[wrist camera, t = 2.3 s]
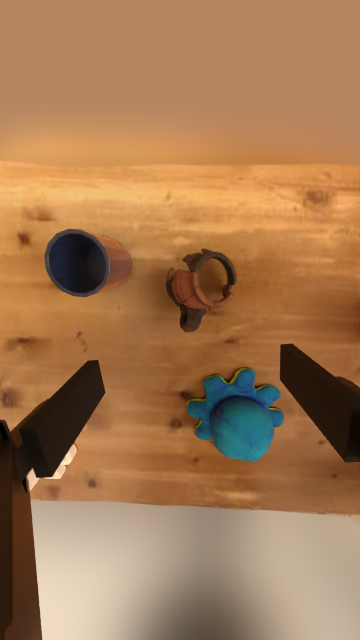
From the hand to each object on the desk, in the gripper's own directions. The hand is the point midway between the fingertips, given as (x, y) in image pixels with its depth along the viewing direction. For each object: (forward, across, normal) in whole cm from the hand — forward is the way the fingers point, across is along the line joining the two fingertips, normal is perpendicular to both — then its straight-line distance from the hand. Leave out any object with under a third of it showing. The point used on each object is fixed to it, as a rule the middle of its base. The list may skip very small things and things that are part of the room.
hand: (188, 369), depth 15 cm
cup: (+20, -12, +8) cm, 25 cm away
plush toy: (+21, +7, -20) cm, 30 cm away
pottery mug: (+20, +2, +3) cm, 21 cm away
